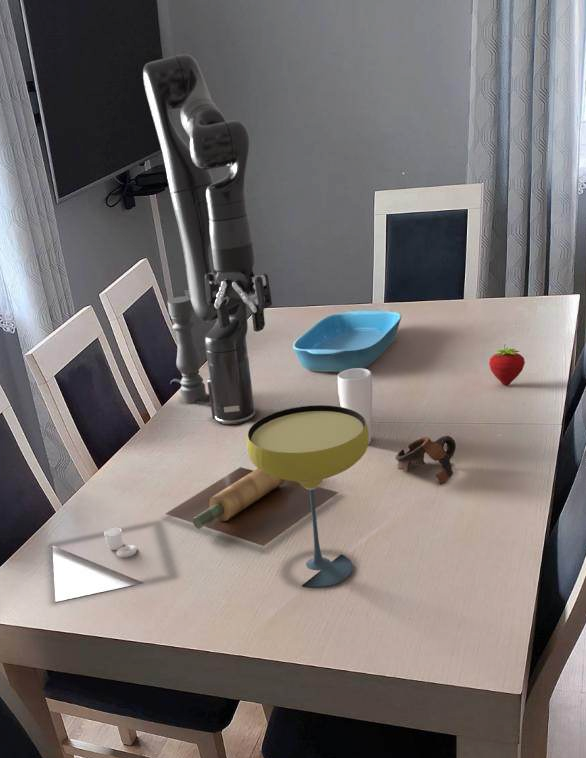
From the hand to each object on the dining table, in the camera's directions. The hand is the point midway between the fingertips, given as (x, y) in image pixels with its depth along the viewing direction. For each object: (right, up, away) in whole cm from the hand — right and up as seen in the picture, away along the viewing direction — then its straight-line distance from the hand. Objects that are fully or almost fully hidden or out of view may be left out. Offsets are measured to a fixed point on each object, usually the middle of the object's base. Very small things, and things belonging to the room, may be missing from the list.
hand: (241, 328), depth 167 cm
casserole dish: (+33, +8, +61) cm, 70 cm away
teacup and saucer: (-24, -44, -13) cm, 52 cm away
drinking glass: (+25, -21, +14) cm, 35 cm away
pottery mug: (+35, -28, -3) cm, 45 cm away
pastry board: (+2, -35, -4) cm, 35 cm away
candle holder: (-8, -5, +51) cm, 52 cm away
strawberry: (+61, -6, +28) cm, 67 cm away
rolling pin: (+1, -34, -5) cm, 34 cm away
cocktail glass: (+11, -46, -26) cm, 54 cm away
